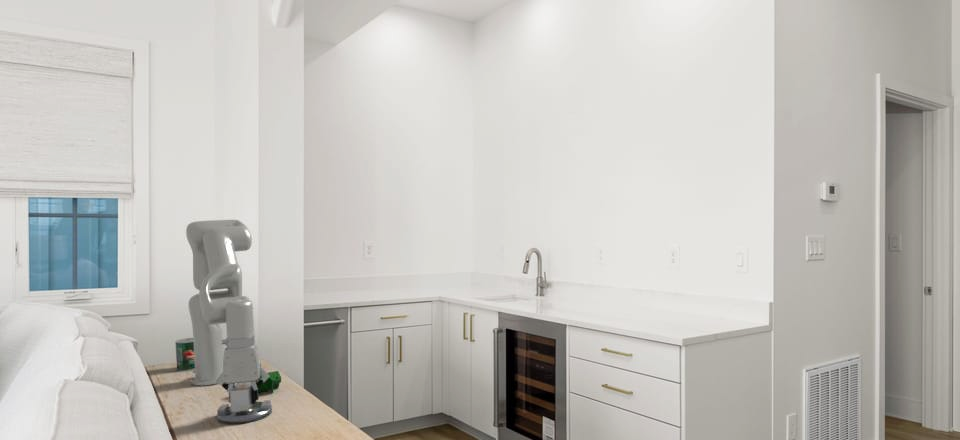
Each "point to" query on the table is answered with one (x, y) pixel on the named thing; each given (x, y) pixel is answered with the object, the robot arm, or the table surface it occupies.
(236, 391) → the striped grey block
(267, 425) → the table surface
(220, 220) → the robot arm
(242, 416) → the shallow grey dish
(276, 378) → the clamp
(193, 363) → the canned tomato
